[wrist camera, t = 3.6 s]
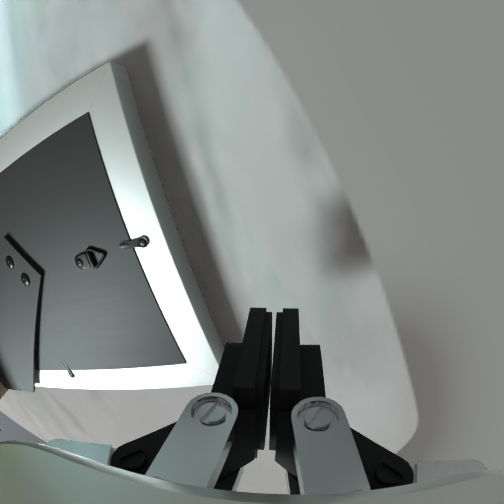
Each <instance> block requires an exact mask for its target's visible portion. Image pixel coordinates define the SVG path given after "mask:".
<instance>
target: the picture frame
mask: <svg viewBox="0 0 504 504" xmlns="http://www.w3.org/2000/svg"><path fill="white" fill-rule="evenodd" d="M223 351H224V346H223V344H222V342H221V339H220V337H219V335H218V332H217V330H216V327H215V325H214V323H213V320H212V318H211V315H210V313H209V311H208V308H207V306H206V303H205V301H204V298H203V296H202V293H201V291H200V288H199V286H198V283H197V281H196V278H195V276H194V273H193V270H192V268H191V265H190V263H189V260H188V257H187V255H186V252H185V249H184V247H183V244H182V241H181V238H180V236H179V233H178V230H177V228H176V225H175V222H174V219H173V216H172V214H171V211H170V208H169V205H168V202H167V199H166V196H165V193H164V190H163V187H162V185H161V182H160V179H159V176H158V173H157V169H156V166H155V163H154V160H153V157H152V154H151V151H150V148H149V144H148V141H147V138H146V135H145V132H144V128H143V125H142V122H141V118H140V115H139V111H138V108H137V105H136V101H135V98H134V94H133V90H132V87H131V83H130V80H129V76H128V72H127V68H126V66H124V65H121V64H118V63H115V62H112V61H109V62H107V63H106V64H104V65H102V66H100V67H99V68H97V69H95V70H94V71H92V72H90V73H89V74H87V75H85V76H84V77H82V78H80V79H79V80H77V81H76V82H74V83H73V84H71V85H70V86H68V87H67V88H65V89H64V90H62V91H61V92H59V93H58V94H56V95H55V96H53V97H52V98H51V99H49V100H48V101H47V102H45V103H44V104H42V105H41V106H40V107H38V108H37V109H36V110H34V111H33V112H32V113H31V114H29V115H28V116H27V117H26V118H24V119H23V120H22V121H21V122H19V123H18V124H17V125H16V126H15V127H13V128H12V129H11V130H10V131H9V132H8V133H6V134H5V135H4V136H3V137H2V138H1V139H0V382H1V383H2V385H3V386H4V388H7V389H13V390H20V391H28V392H34V391H35V386H42V387H55V388H73V389H157V388H176V387H191V386H203V385H213V384H214V381H215V378H216V374H217V371H218V368H219V364H220V361H221V358H222V354H223Z"/></svg>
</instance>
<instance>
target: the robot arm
mask: <svg viewBox="0 0 504 504" xmlns="http://www.w3.org/2000/svg"><path fill="white" fill-rule="evenodd" d="M271 374H272V377H271ZM270 386H271V390H270ZM269 397H270V441H269V450H276V455H275V461H276V462H277V463H279V464H280V465H281V466H282V467H283V468H285V469H286V473H285V474H286V482H287V489H288V495H287V494H261V493H247V492H236V489H237V487H238V484H239V481H240V479H241V476H242V473H243V469H244V466H245V465H246V464H248V463H249V462H251V461H253V460H254V458H257V451H258V449H259V450H264V446H265V437H266V427H267V417H268V407H269ZM0 504H504V469H487V467H486V466H485V465H484V464H483V463H482V462H480V461H478V460H471V459H469V460H450V461H417V463H416V464H409V463H408V462H407V461H405V460H404V459H403V458H401V457H399V456H397V455H396V454H394V453H392V452H390V451H389V450H387V449H385V448H383V447H382V446H380V445H378V444H377V443H375V442H373V441H372V440H370V439H368V438H367V437H365V436H363V435H362V434H360V433H358V432H357V431H355V430H354V429H352V428H350V426H349V423H348V420H347V418H346V415H345V412H344V410H343V408H342V407H341V406H340V405H339V404H338V403H337V402H336V401H334V400H331V399H329V398H326V396H325V386H324V376H323V367H322V358H321V350H320V345H300V336H299V311H298V309H289V308H283V312H277V316H276V329H275V342H274V354H273V365H272V312H266V308H250V312H249V316H248V321H247V325H246V330H245V334H244V338H243V343H229V342H227V343H226V345H225V348H224V351H223V354H222V358H221V361H220V364H219V368H218V371H217V374H216V378H215V381H214V384H213V388H212V391H211V393H204V394H201V395H198V396H196V397H195V398H193V399H192V400H191V401H190V402H189V403H188V404H187V406H186V407H185V409H184V411H183V413H182V414H181V416H180V418H179V419H178V421H177V422H175V423H173V424H171V425H168V426H166V427H164V428H162V429H159V430H157V431H155V432H152V433H150V434H148V435H145V436H143V437H141V438H138V439H136V440H133V441H131V442H128V443H126V444H124V445H122V446H120V447H118V448H113V447H112V446H111V445H107V444H97V443H88V442H80V441H72V440H66V439H53V440H50V441H48V442H47V443H46V444H40V443H35V442H28V441H16V440H15V441H4V442H0Z"/></svg>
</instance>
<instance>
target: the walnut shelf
mask: <svg viewBox="0 0 504 504" xmlns="http://www.w3.org/2000/svg"><path fill="white" fill-rule="evenodd" d="M7 391H8V389H7V388H4V386H3V385H2V383H1V382H0V399H1V398H2V396H3V395H4V394H5V393H6V392H7ZM0 431H1V430H0Z"/></svg>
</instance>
